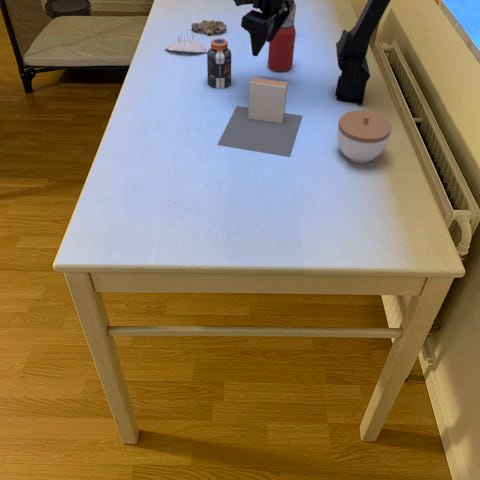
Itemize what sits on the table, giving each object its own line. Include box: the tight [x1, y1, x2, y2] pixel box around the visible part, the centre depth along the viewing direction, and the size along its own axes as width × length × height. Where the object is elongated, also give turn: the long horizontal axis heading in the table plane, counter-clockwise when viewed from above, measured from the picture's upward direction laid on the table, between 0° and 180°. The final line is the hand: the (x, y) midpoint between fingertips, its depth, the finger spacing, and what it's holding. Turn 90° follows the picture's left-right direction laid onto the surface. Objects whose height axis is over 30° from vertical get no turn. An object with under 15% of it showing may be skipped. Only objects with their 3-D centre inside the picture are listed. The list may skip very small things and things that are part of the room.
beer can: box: [267, 19, 296, 73], centre depth 133 cm, size 7×7×12 cm
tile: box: [248, 76, 289, 123], centre depth 115 cm, size 8×2×9 cm, turn 76°
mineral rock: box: [191, 19, 227, 37], centre depth 153 cm, size 11×4×8 cm
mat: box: [217, 105, 303, 158], centre depth 115 cm, size 16×17×1 cm
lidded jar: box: [336, 110, 393, 164], centre depth 106 cm, size 11×11×9 cm
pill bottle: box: [206, 38, 232, 90], centre depth 126 cm, size 6×6×11 cm
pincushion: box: [164, 32, 208, 54], centre depth 141 cm, size 12×6×6 cm, turn 85°
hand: (261, 48), depth 120 cm, fingers open, 9 cm apart
